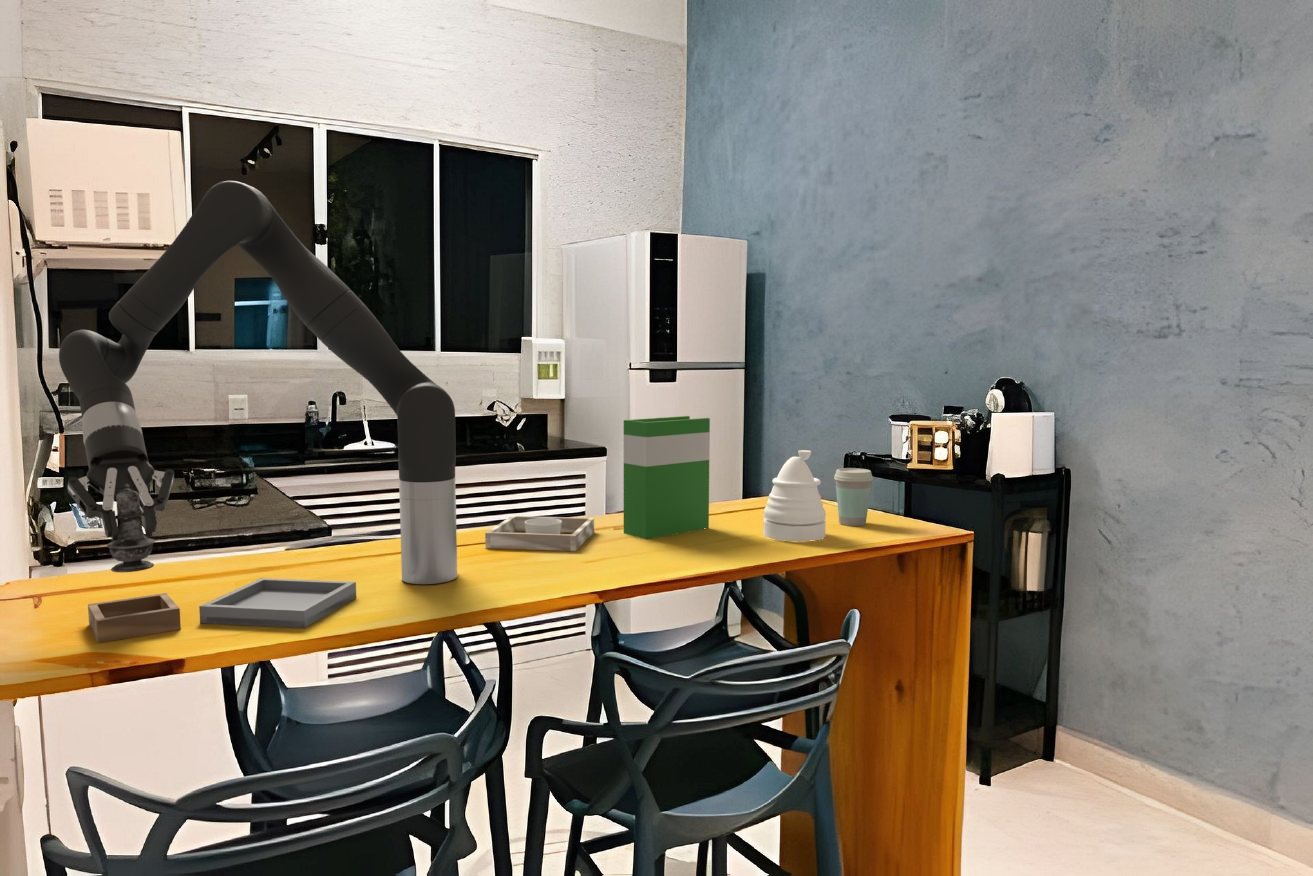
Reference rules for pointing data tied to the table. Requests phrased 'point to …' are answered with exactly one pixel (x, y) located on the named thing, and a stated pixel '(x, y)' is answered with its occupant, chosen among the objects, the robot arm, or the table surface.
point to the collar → (133, 617)
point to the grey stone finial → (130, 535)
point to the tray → (278, 603)
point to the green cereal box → (666, 476)
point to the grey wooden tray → (539, 535)
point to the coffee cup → (853, 495)
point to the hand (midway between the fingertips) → (132, 534)
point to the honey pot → (795, 504)
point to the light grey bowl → (543, 526)
